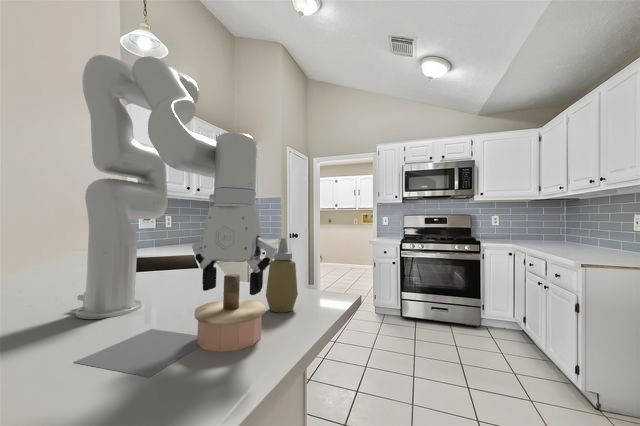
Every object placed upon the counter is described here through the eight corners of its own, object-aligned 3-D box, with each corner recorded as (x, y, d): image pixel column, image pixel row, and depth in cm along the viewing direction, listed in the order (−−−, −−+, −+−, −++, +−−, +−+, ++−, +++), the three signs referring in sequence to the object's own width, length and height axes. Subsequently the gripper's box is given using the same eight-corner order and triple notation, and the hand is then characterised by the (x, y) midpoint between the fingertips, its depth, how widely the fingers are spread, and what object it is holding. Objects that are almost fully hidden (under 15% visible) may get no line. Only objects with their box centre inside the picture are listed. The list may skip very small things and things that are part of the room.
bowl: (184, 348, 48) (185, 318, 48) (221, 326, 59) (222, 302, 59) (241, 357, 45) (242, 325, 46) (270, 332, 56) (270, 306, 56)
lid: (178, 319, 48) (179, 279, 48) (221, 300, 60) (222, 268, 60) (243, 327, 45) (245, 284, 45) (275, 306, 57) (276, 272, 57)
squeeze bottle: (292, 316, 66) (293, 239, 67) (259, 313, 68) (262, 238, 69) (301, 306, 74) (302, 238, 75) (272, 304, 76) (274, 237, 76)
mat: (73, 364, 42) (73, 362, 42) (151, 331, 55) (151, 328, 55) (149, 379, 38) (149, 376, 38) (212, 339, 52) (212, 337, 52)
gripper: (182, 198, 52) (178, 292, 51) (268, 198, 47) (265, 300, 47) (207, 201, 59) (204, 283, 58) (284, 201, 55) (282, 290, 54)
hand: (231, 291), depth 53 cm, fingers open, 9 cm apart
